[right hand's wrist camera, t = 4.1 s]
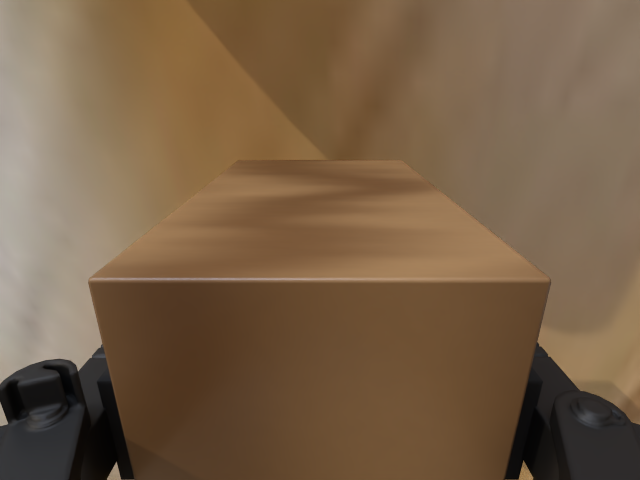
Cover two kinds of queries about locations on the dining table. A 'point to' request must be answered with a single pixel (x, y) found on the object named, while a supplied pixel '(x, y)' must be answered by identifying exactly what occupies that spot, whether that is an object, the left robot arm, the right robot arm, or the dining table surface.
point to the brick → (319, 330)
